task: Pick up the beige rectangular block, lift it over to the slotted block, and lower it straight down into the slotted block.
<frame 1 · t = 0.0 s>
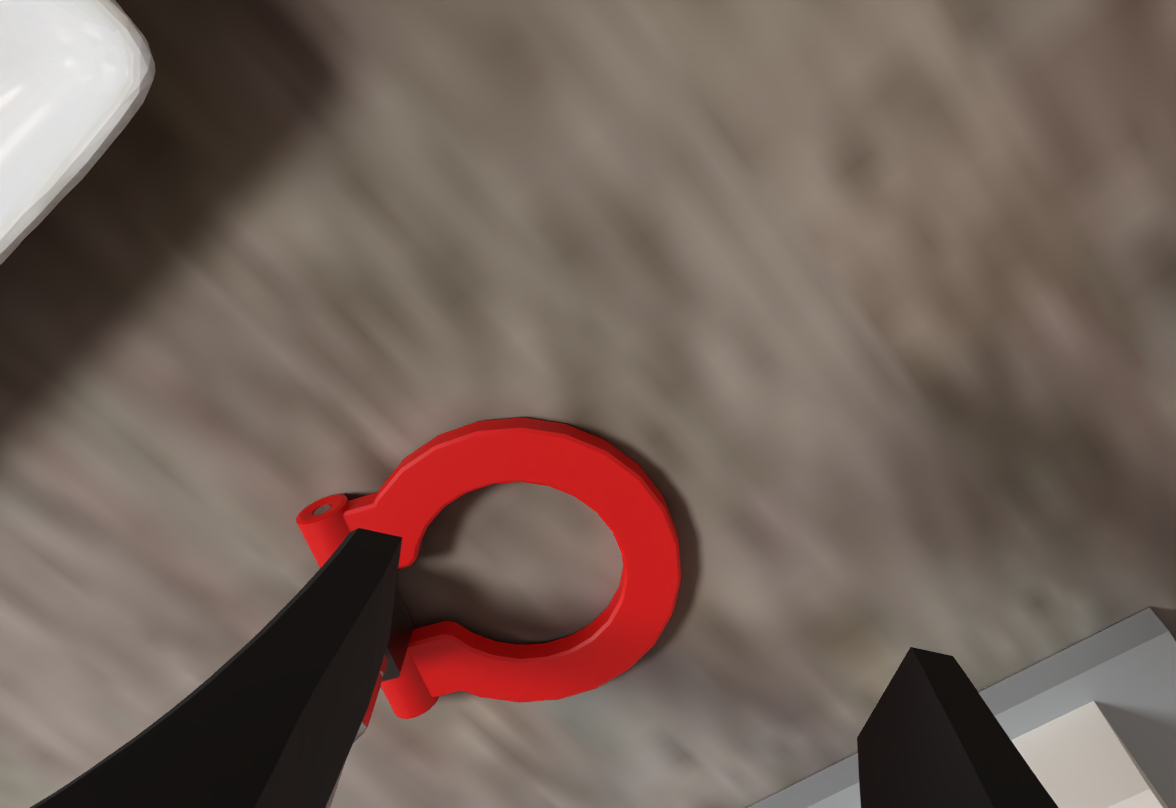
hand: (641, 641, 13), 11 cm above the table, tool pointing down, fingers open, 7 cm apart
tow hook: (508, 554, 26), on the table
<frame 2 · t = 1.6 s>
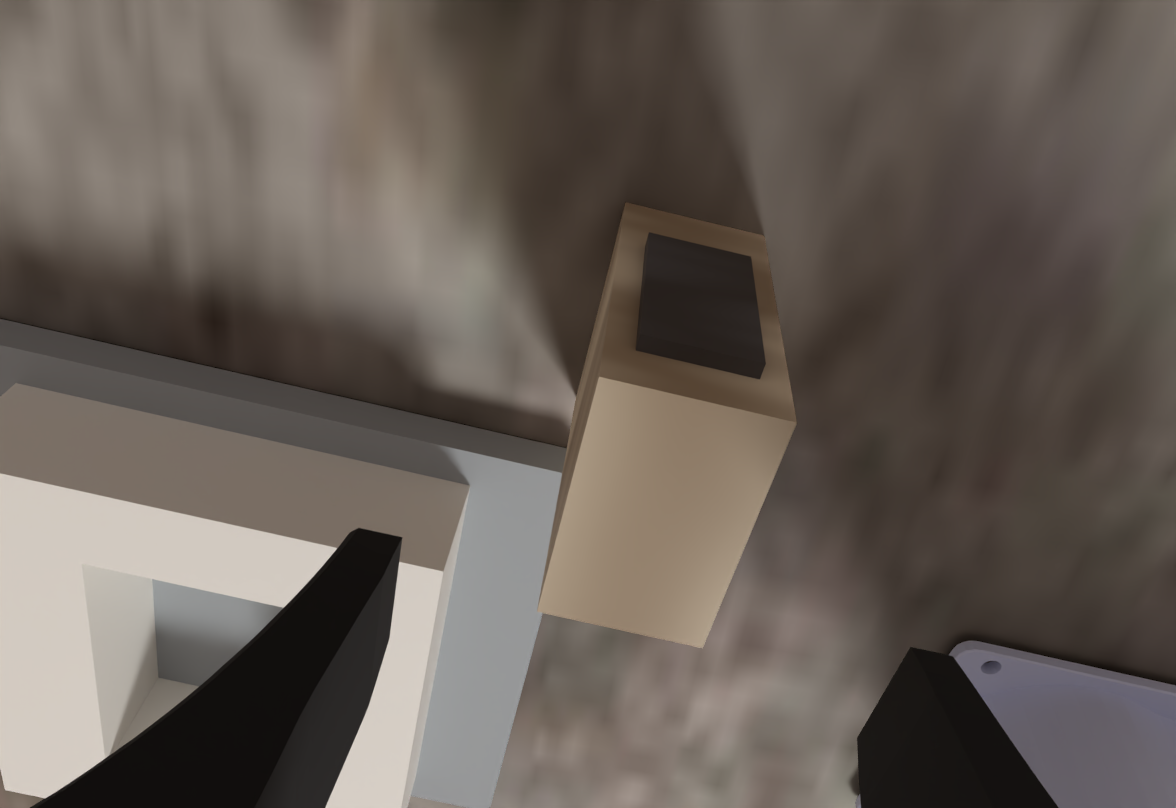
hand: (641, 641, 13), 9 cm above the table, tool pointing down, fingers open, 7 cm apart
slotted block: (257, 581, 27), on the table
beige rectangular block: (664, 321, 21), on the table
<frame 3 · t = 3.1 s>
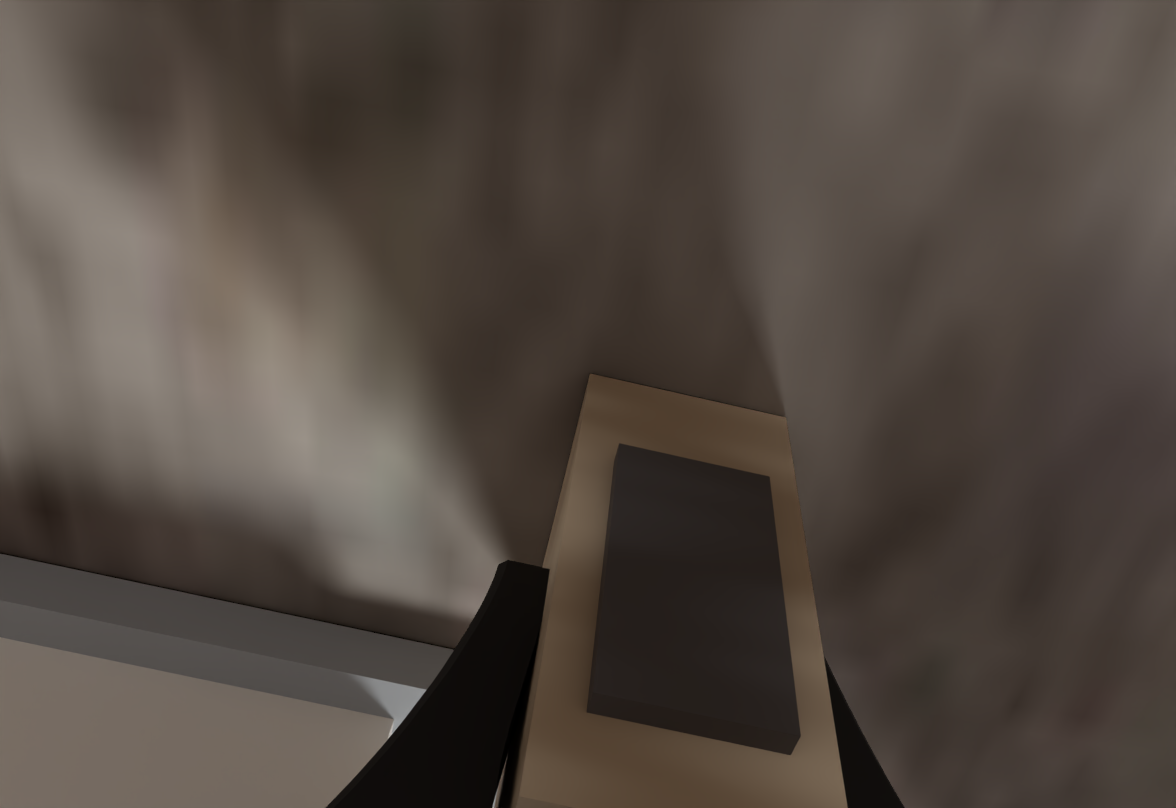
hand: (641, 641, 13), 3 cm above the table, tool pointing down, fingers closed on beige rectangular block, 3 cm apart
slotted block: (140, 799, 21), on the table
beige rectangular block: (648, 520, 15), on the table, touching gripper
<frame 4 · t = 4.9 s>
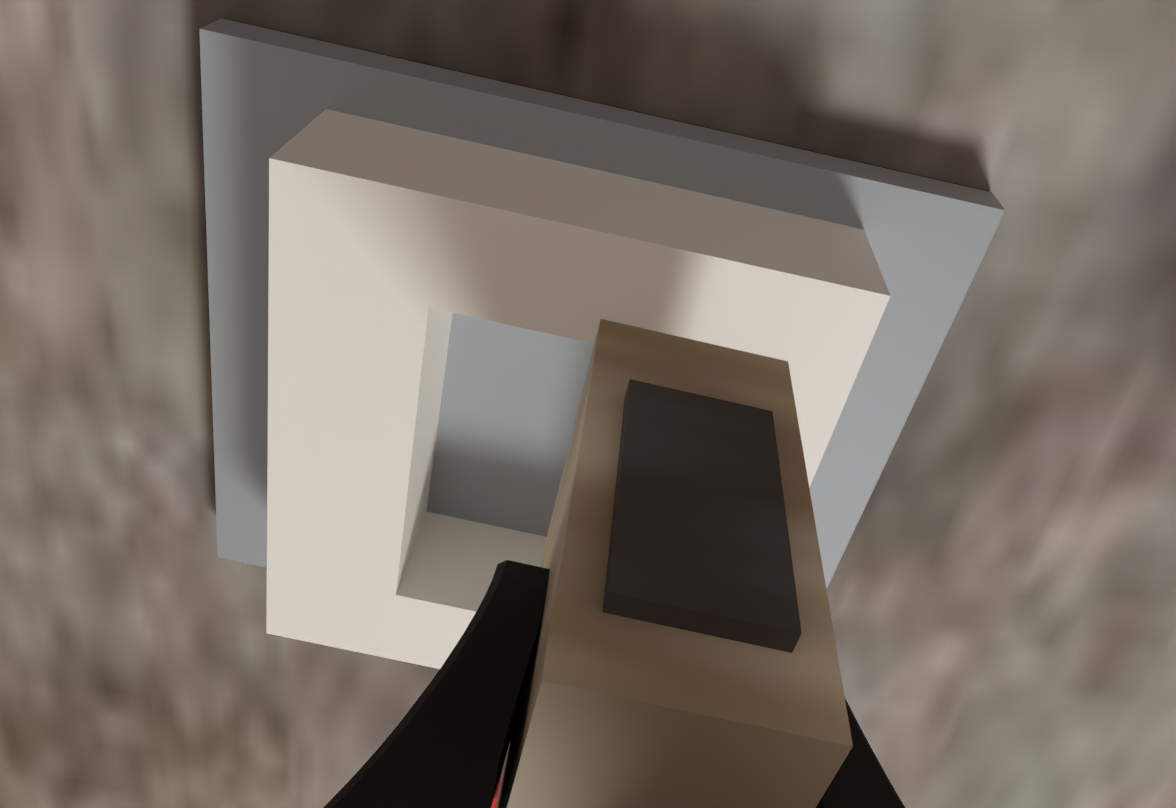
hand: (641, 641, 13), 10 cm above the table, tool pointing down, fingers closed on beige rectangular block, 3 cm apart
slotted block: (552, 389, 23), on the table
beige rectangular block: (655, 463, 16), point 6 cm above the table, touching gripper
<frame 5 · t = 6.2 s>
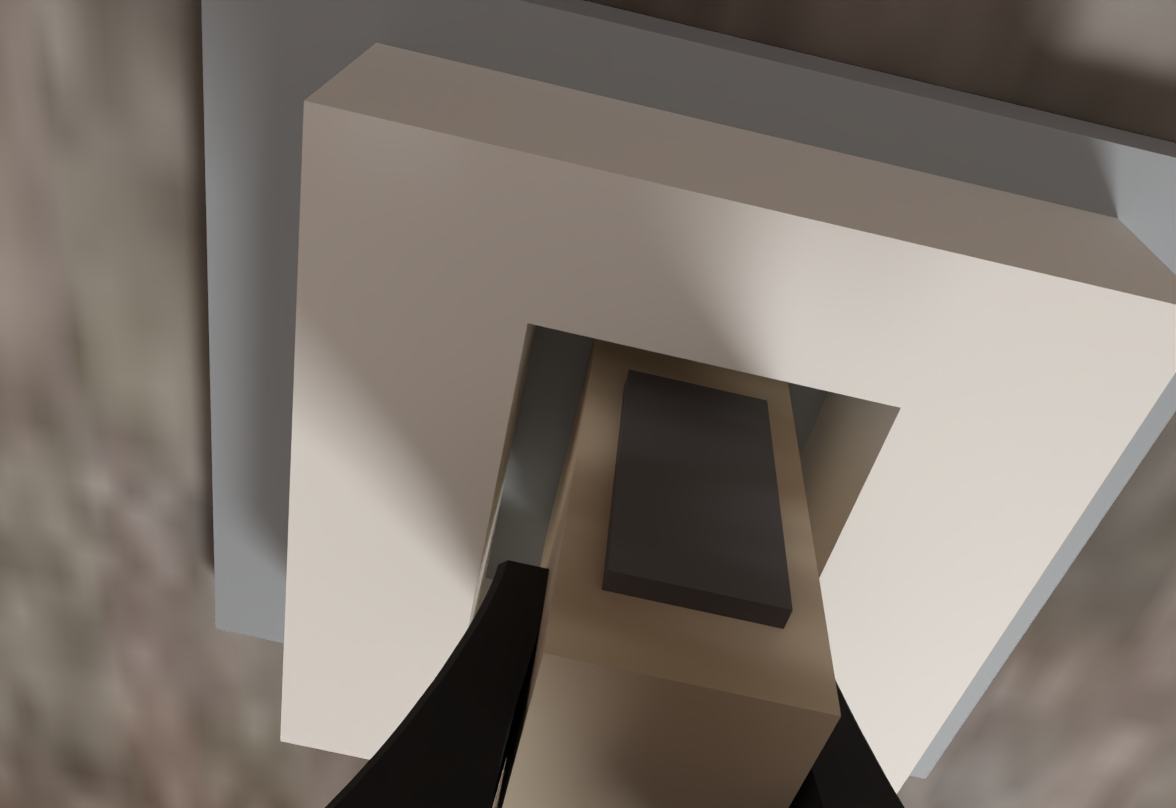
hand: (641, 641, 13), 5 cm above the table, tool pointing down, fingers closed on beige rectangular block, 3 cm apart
slotted block: (654, 425, 18), on the table
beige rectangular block: (654, 453, 16), point 1 cm above the table, touching gripper
when the fingers open (5 cm above the table, at t = 6.7 s): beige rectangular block stays where it is, resting on slotted block.
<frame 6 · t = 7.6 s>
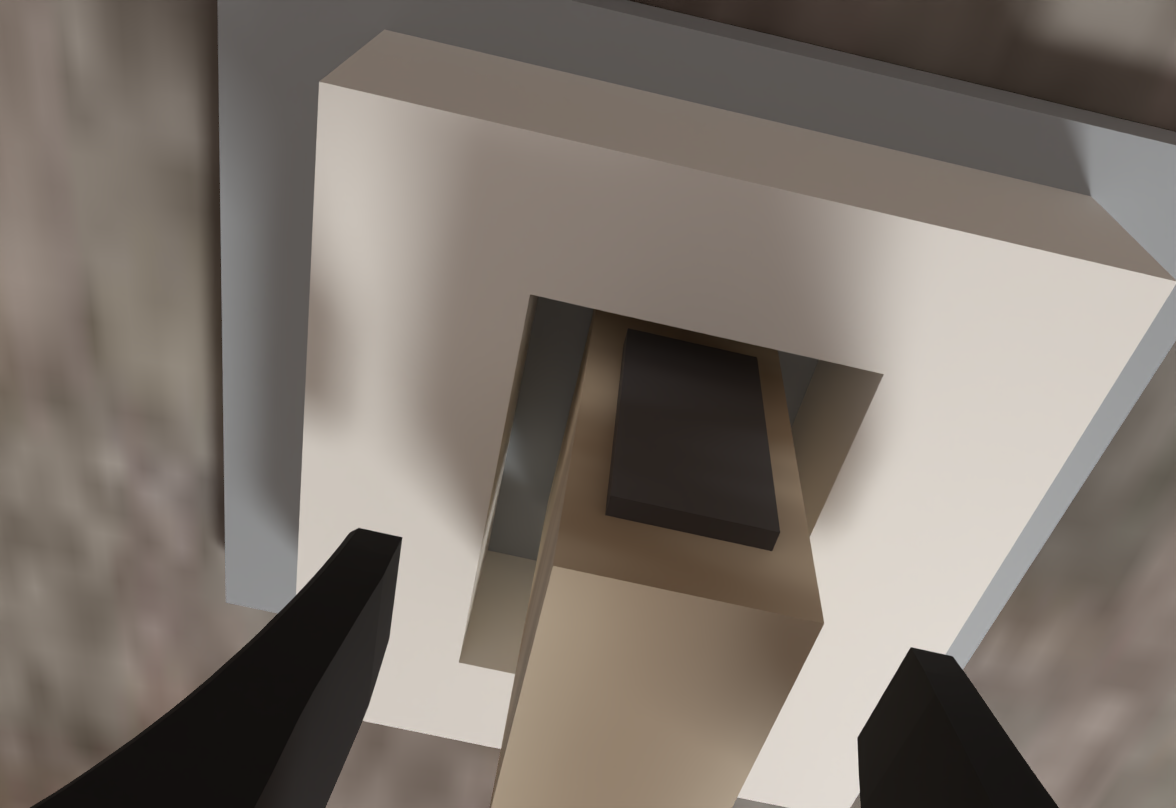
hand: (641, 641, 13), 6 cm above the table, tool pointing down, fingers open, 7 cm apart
slotted block: (650, 401, 18), on the table
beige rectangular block: (651, 417, 17), point 1 cm above the table, touching slotted block
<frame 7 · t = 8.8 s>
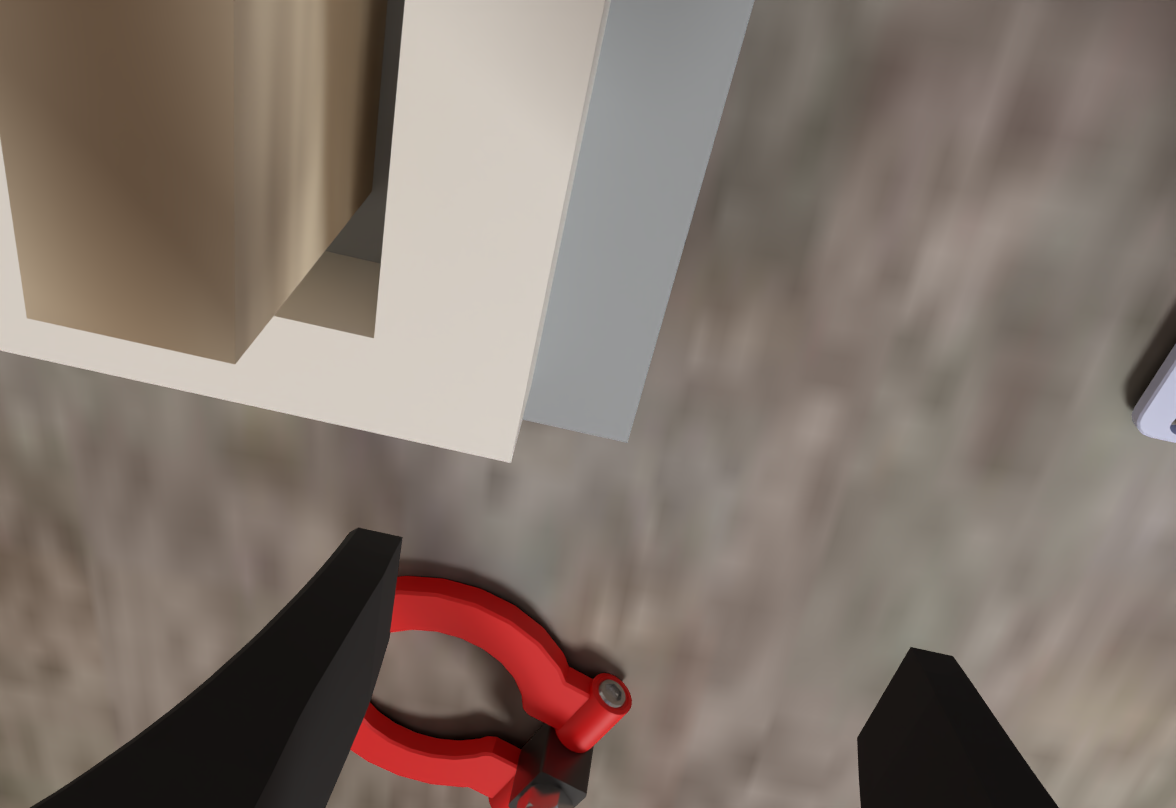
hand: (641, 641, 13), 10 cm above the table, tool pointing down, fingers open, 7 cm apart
slotted block: (321, 54, 19), on the table
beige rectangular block: (304, 51, 18), point 1 cm above the table, touching slotted block
tow hook: (454, 674, 29), on the table
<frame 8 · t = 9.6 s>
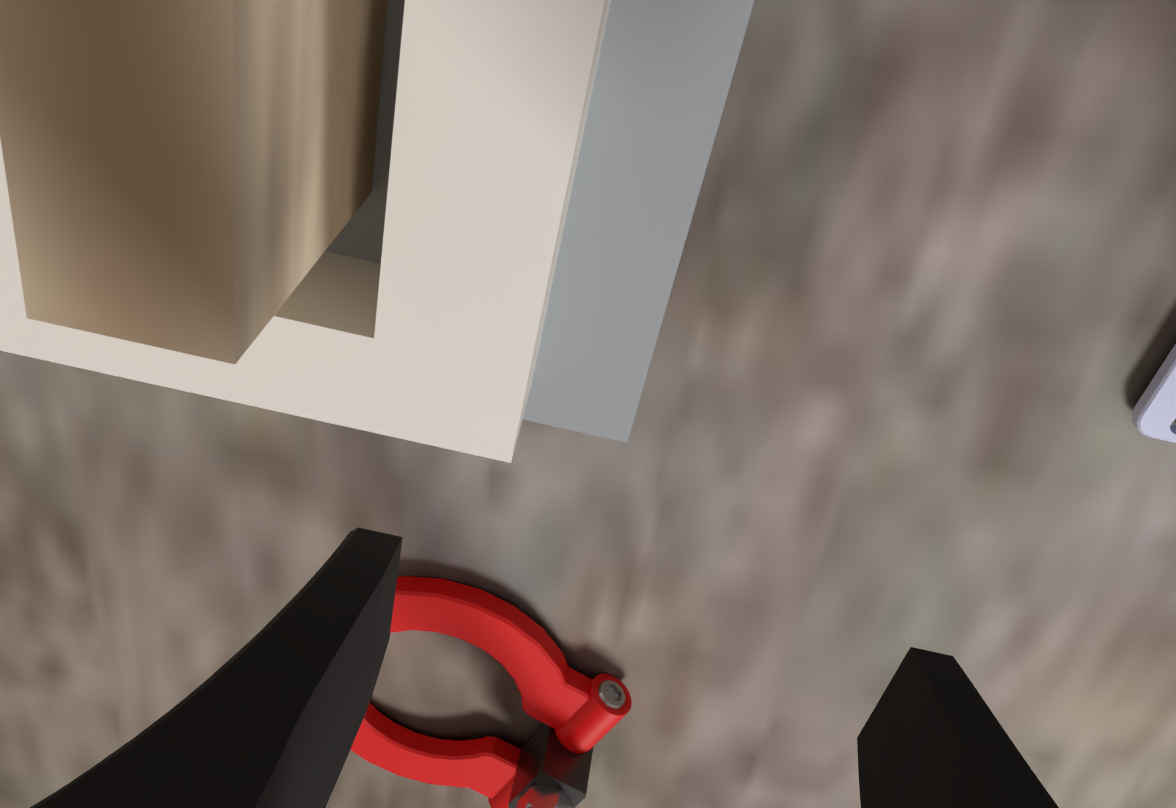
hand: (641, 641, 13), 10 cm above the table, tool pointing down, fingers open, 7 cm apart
slotted block: (321, 54, 19), on the table
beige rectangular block: (304, 51, 18), point 1 cm above the table, touching slotted block
tow hook: (454, 674, 29), on the table
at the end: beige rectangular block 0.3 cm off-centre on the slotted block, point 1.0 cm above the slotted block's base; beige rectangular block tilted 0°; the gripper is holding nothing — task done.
